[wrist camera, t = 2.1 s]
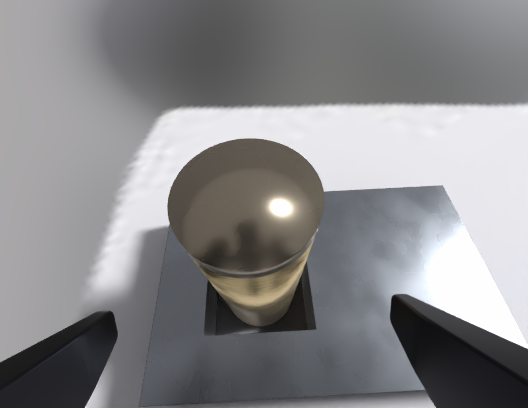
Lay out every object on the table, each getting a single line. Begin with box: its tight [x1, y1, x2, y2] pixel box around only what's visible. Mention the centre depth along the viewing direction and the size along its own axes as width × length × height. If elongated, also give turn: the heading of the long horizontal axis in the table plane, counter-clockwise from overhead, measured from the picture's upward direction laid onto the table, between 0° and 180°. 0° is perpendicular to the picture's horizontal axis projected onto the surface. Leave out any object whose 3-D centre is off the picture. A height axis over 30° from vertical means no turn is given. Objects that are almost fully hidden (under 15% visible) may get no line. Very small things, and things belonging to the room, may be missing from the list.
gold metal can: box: [168, 139, 324, 326], centre depth 13 cm, size 5×5×12 cm
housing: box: [139, 185, 528, 407], centre depth 17 cm, size 12×20×4 cm, turn 93°
